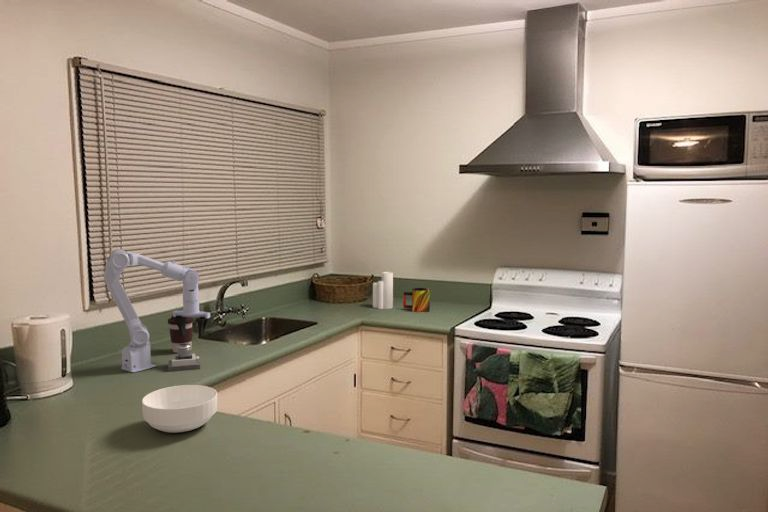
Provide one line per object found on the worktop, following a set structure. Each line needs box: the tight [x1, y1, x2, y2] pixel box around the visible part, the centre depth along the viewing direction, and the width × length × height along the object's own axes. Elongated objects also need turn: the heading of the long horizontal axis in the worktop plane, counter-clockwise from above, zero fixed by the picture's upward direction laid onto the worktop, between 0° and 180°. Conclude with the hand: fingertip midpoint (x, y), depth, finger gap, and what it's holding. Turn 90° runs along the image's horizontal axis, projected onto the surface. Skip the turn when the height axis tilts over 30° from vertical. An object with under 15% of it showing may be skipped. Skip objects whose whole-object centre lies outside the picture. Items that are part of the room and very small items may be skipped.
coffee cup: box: [167, 314, 195, 354], centre depth 238 cm, size 10×10×15 cm
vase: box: [372, 271, 394, 310], centre depth 330 cm, size 11×7×20 cm, turn 93°
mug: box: [402, 287, 431, 313], centre depth 322 cm, size 10×14×12 cm
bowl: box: [141, 384, 218, 433], centre depth 162 cm, size 20×20×8 cm
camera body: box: [167, 353, 201, 373], centre depth 217 cm, size 11×9×4 cm
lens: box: [177, 344, 192, 360], centre depth 217 cm, size 5×5×6 cm
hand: (192, 335), depth 223 cm, fingers open, 7 cm apart
